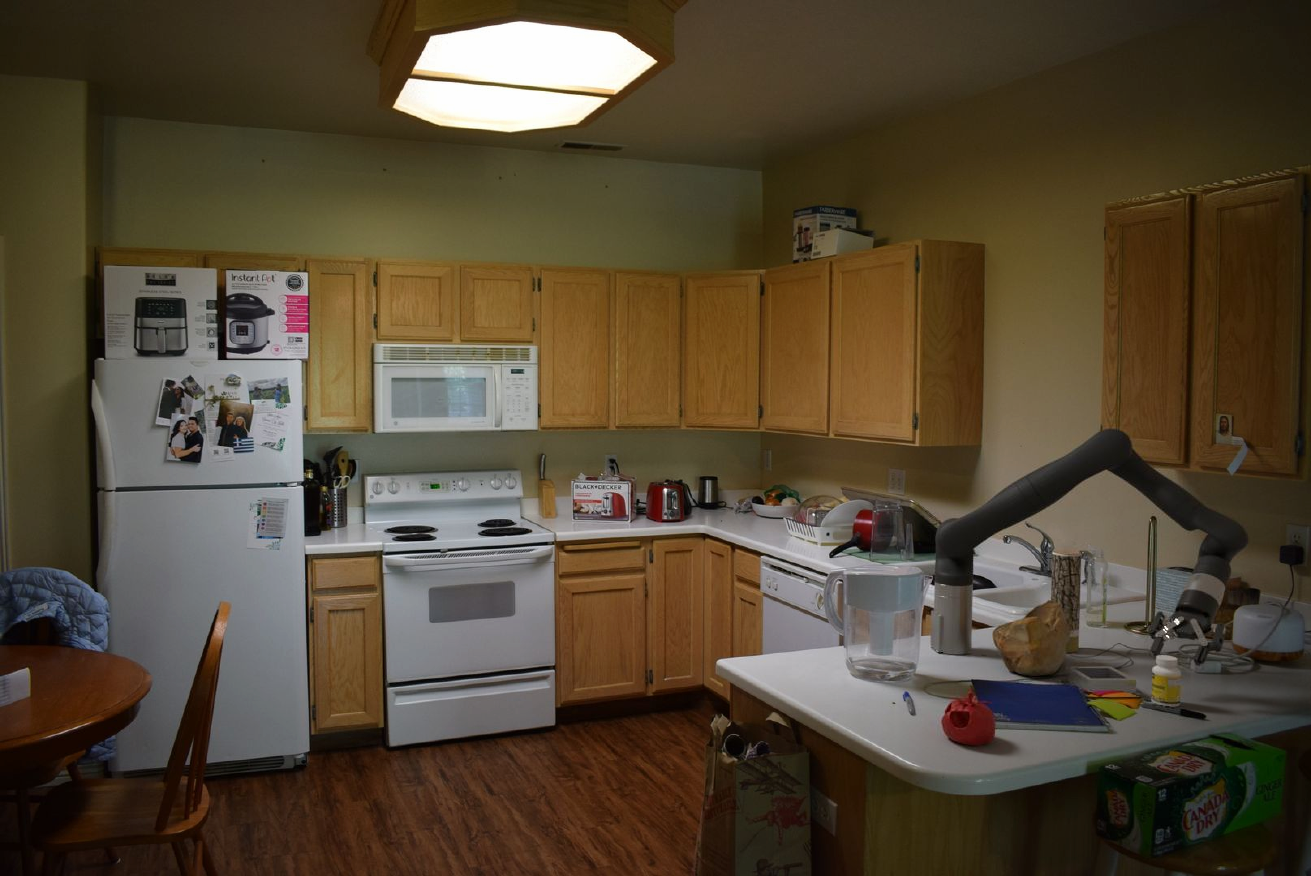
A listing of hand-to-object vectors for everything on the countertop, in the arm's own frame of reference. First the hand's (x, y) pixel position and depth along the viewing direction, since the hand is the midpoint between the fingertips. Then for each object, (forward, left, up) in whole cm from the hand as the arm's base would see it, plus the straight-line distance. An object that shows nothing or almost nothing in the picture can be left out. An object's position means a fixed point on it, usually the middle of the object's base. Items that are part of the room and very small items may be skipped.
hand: (1175, 659), depth 206 cm
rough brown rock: (-20, +27, -9) cm, 35 cm away
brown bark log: (-4, +41, -9) cm, 42 cm away
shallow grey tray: (-12, +8, -9) cm, 17 cm away
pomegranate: (-53, -22, -9) cm, 59 cm away
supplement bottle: (-3, -2, -9) cm, 10 cm away
